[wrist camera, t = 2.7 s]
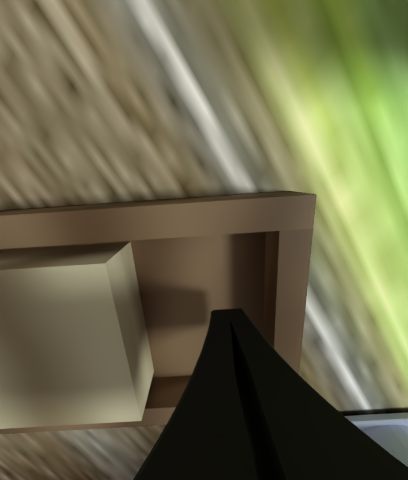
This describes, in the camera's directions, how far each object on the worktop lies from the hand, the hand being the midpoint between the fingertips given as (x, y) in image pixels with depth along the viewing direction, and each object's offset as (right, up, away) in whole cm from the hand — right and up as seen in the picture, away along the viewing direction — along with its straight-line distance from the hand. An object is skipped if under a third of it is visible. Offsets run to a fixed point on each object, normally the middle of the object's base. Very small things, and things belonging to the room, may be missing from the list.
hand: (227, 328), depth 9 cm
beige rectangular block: (-7, 0, +1) cm, 7 cm away
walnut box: (-4, 0, +2) cm, 5 cm away
